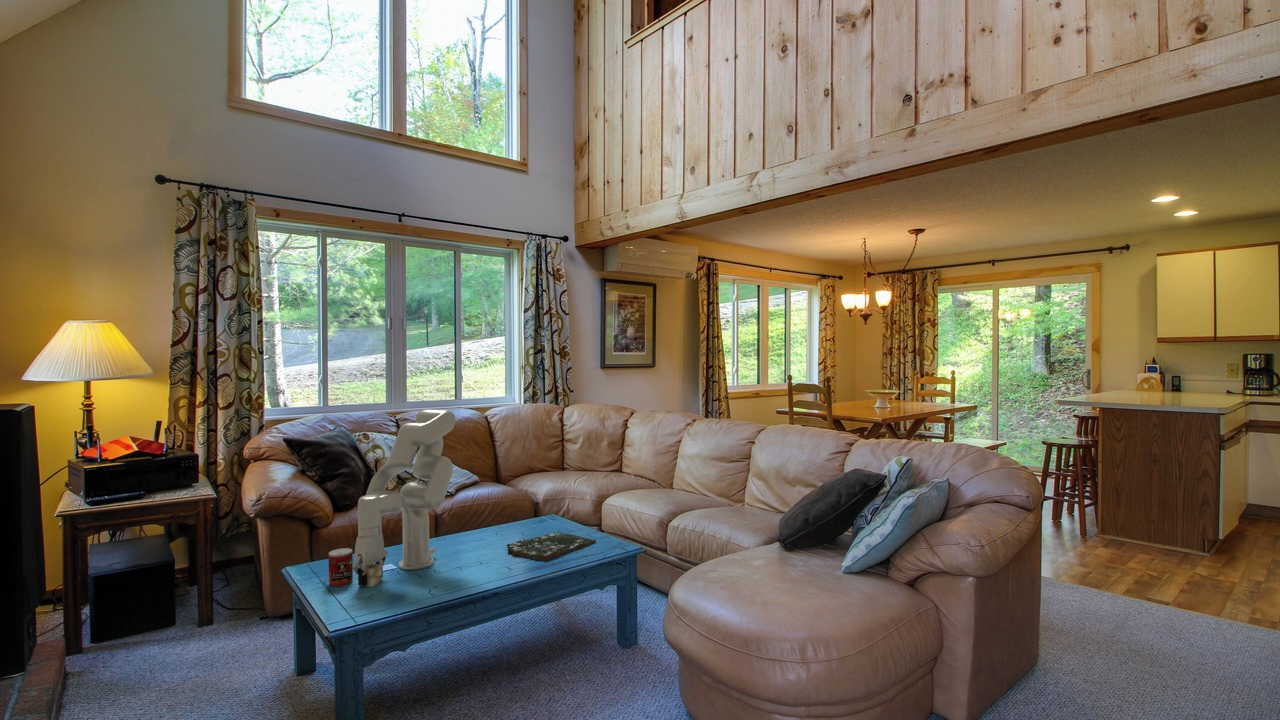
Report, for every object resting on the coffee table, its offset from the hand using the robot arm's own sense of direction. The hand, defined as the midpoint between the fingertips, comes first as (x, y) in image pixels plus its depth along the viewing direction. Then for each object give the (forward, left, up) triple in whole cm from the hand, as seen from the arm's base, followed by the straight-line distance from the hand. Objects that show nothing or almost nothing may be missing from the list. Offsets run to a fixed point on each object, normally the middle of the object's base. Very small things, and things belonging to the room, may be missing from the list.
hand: (370, 581), depth 213 cm
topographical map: (-54, +42, -2) cm, 68 cm away
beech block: (0, 0, -1) cm, 1 cm away
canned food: (+2, -11, -1) cm, 11 cm away
